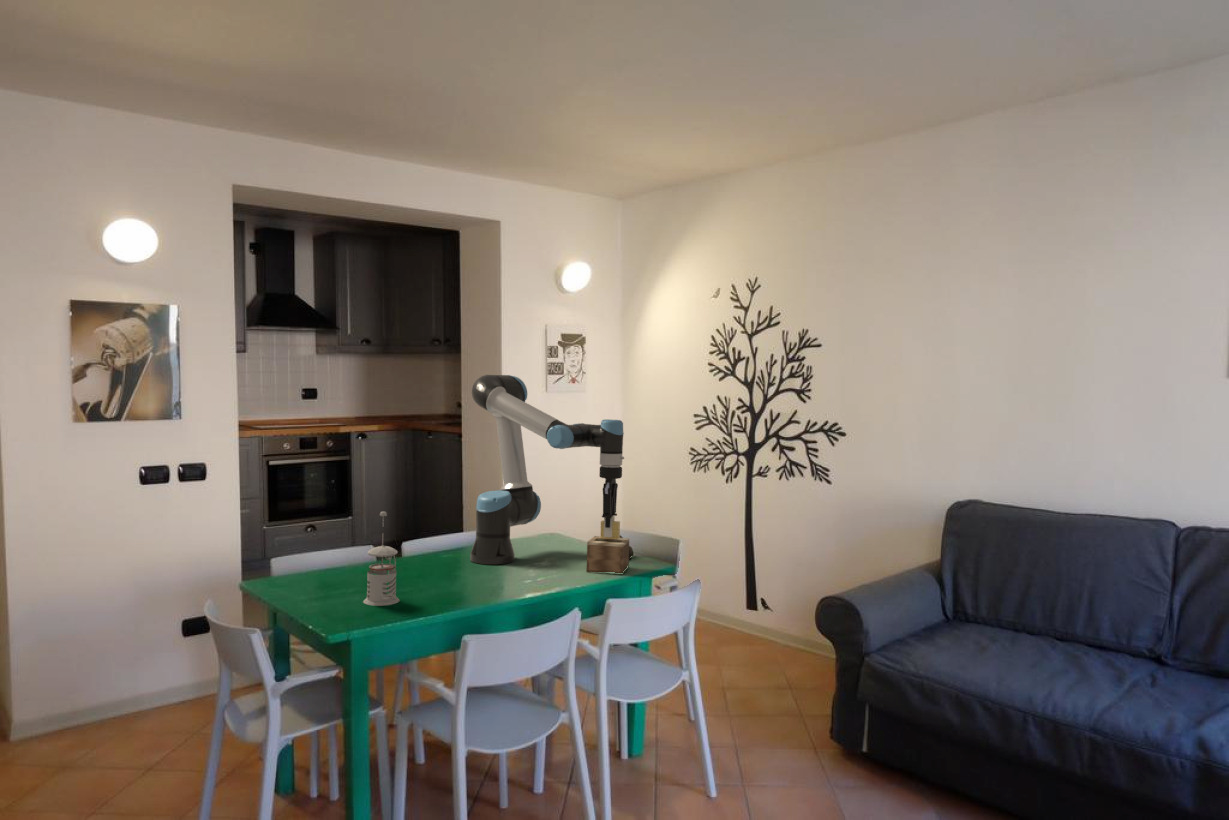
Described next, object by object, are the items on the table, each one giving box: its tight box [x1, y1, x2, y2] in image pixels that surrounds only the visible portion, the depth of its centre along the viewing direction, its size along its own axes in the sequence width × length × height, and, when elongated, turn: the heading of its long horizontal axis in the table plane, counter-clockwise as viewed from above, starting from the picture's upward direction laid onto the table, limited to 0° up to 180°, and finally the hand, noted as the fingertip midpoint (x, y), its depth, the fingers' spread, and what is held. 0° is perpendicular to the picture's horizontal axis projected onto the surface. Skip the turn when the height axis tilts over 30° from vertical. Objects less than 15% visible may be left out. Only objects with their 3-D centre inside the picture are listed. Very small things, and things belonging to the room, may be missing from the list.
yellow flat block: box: [600, 520, 621, 539], centre depth 274 cm, size 6×2×6 cm, turn 78°
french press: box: [362, 511, 401, 607], centre depth 229 cm, size 10×12×25 cm
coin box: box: [585, 535, 630, 574], centre depth 275 cm, size 12×11×10 cm
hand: (608, 536), depth 274 cm, fingers closed on yellow flat block, 2 cm apart
